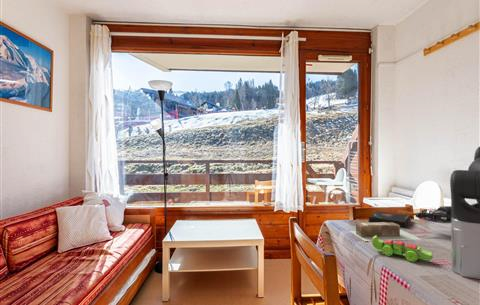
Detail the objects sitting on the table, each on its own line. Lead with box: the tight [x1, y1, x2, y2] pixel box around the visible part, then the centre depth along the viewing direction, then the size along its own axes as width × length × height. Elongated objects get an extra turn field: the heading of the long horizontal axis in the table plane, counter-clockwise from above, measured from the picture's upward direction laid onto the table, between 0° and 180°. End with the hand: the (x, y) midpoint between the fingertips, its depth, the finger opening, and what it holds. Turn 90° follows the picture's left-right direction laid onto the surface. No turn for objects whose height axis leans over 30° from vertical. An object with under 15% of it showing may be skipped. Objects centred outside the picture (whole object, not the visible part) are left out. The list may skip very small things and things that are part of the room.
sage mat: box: [349, 229, 423, 242], centre depth 121 cm, size 26×14×1 cm, turn 93°
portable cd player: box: [367, 210, 411, 229], centre depth 143 cm, size 16×17×4 cm
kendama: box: [397, 209, 438, 222], centre depth 151 cm, size 6×6×20 cm
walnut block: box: [355, 222, 401, 237], centre depth 121 cm, size 5×5×18 cm
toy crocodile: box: [371, 236, 434, 263], centre depth 99 cm, size 20×7×6 cm, turn 47°
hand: (416, 215), depth 122 cm, fingers closed
